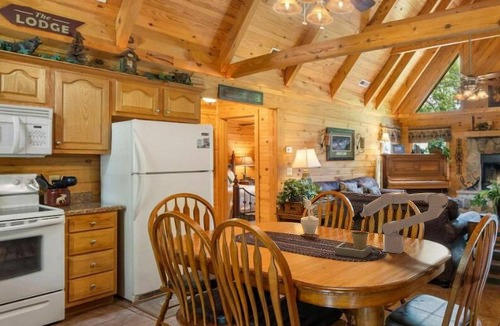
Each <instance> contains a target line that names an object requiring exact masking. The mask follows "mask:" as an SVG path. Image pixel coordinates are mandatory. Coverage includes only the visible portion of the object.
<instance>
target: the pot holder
mask: <svg viewBox="0 0 500 326" xmlns="http://www.w3.org/2000/svg"><path fill="white" fill-rule="evenodd" d="M346 244H347V243H346V241H343V242H342V243H340V244H338V245H336V246H335V247H334V255H339V256H345V257H346V256H347V257H353V258H360V259H365V258H366V257H367V256H369V255H370V254H371V253H372V245H368V246H367V245H366V248H365V249H363V250H362V249H360V250H358V249H355V248H348V247H347V245H346Z"/></svg>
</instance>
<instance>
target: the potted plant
mask: <svg viewBox="0 0 500 326" xmlns="http://www.w3.org/2000/svg"><path fill="white" fill-rule="evenodd" d="M302 199H303V201H304V207H305V208H306V210H307V216H305V217H301V218H300V225H301V226H302V229H303V232H304V234H306V235H314V234H315V233H316V231H317V228H318V226H319V225H320V219H319V218H318V217H316V216H313V215H311V211H312V210H313V209H314V208H315V207H317V206H318V204H312V201H311V200H310V199H307V198H306V197H303V198H302ZM300 204H302V201H300Z"/></svg>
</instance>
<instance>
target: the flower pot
mask: <svg viewBox="0 0 500 326" xmlns="http://www.w3.org/2000/svg"><path fill="white" fill-rule="evenodd" d="M369 234H370V232H367V231H359V230H357V231H350V235H351V237H352V244H353V249H356V250H363V249H365V248H366V247H367V242H368V237H369Z"/></svg>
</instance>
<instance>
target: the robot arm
mask: <svg viewBox="0 0 500 326" xmlns="http://www.w3.org/2000/svg"><path fill="white" fill-rule="evenodd" d="M409 201H424V202H425V203H426V204H428V209H427V211H424V212H423V211H422V212H421V213H417V214H415V215H412V216H409V217H406V218H403V219H400V220H392V221H389V222H385V223H383V225H382V229H381V230H382V232H383V236H384V237H383V239H384V241H383V243H384V246H383V247H384V248H383V249H382V250H381V252H383V253H390V254H392V253H393V254H399V255H401V254H402V253H403V252H404V251H405V250H404V244H405V243H404V239H405V238H404V235H402V234H401V235H400V233H399V232H400V231H401V230H404V229H406V228H408V227H409V228H410V227H413V226H415V225H419V224H422V223H425V222H428V221H432V220H434V219H437V218H439V217H440V215H441V214H442V213H443V211H444V210H445V209H446V208H447V207H448V204H449V196H448V195H447V194H445V193H443V192H442V193H441V192H440V193H437V192H422V193H419V192H418V193H411V194H410V193H408V192H406V191H404V190H400V191H399V192H394V191H391V192H386V193H382V195H381V196H380V197H377V198H376V199H374V200H372V201H371V202H369V203H368V204H366V203H363V205H362V209H359V210H358V211H357V213H356V214H355V215H354V216H352V217H351V219H352V221H353V222H357V221H362V220H366V217H367V216H368V217H369V216H370V217H371V216H372V215H374V214H375V213H378V211H380V210H382V209H384V208H386V207H387V206H388V205H391V204H393V205H394V204H395V205H397V204H407V203H408V202H409ZM365 216H366V217H365Z"/></svg>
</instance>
